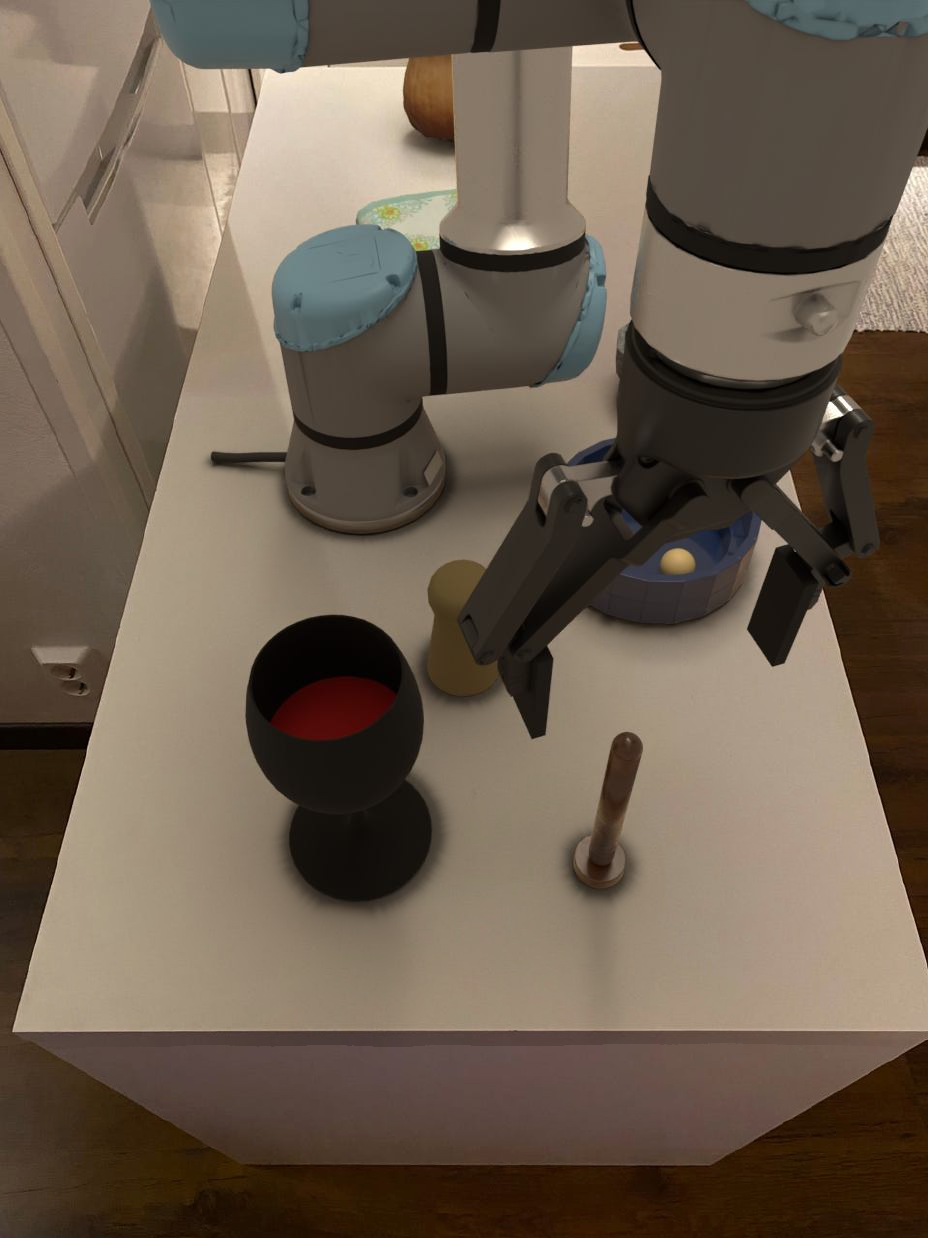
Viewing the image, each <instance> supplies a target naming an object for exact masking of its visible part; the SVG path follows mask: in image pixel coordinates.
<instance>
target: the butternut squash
mask: <svg viewBox="0 0 928 1238" xmlns="http://www.w3.org/2000/svg"><path fill="white" fill-rule="evenodd" d="M402 95H403V96H402V98H403V99H402V100H403V101H402V103H403V110H404V112H405V115H406V116H407V120H408V122H409V123H410V126H411V127H412V128H413V129H414V130H416V131H417V132H418V133H420V134H421V135H422V136H423V137H424V138H428V139H434V140H440V141H442V140H443V141H448V142H450V143H455V133H454V109H453V84H452V59H451V55H440V56H429V57H417V58H408V60H407V64H406V68H405V71H404V76H403V84H402Z"/></svg>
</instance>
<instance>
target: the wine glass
mask: <svg viewBox="0 0 928 1238" xmlns="http://www.w3.org/2000/svg"><path fill="white" fill-rule="evenodd" d="M251 665H252V666H251V668H250V672H249V677H248V682H247V687H246V694H245V713H244V714H245V715H244V717H245V726H246V733H247V738H248V743H249V746H250V748H251V752H252V754H253V757H254V759H255V762H256V764H257V766H259V769H260V770H261V772H262V774H263V775H264V777H265V779H266V780H267V781H268V782H269V783H270V784H271V785H272V786H273V787H274V789H275V790H276V791H277V792H278V793H280V794H281V795H282V796H284V798H286V799H287V800H289V801H290V802H292V803H294V804H296V805H297V807H296V809H295V811H294V813H293V815H292V818H291V822H290V826H289V833H288V845H289V851H290V855H291V858H292V861H293V864H294V866H295V868H296V869H297V871H298V873H299V875H300V876H301V877H302V878H303V880H304V881H305V882H306V883H307V884H308V885H309V886H311V887H312V888H313V889H315V890H316V891H317V892H319V893H321V894H322V895H325V896H327V897H329V898H332V899H334V900H339V901H345V902H367V901H372V900H377V899H380V898H383V897H386V896H388V895H390V894H393V893H394V892H395V891H398V890H399V889H401V888H402V887H403V886H405V885H406V884H407V883H408V882H410V881H411V879H412V878H413V877H414V876H415V875H416V874H417V873H418V872H419V871H420V869H421V867H422V866H423V864H424V863H425V861H426V859H427V856H428V854H429V852H430V849H431V848H430V847H431V844H432V838H433V837H432V836H433V835H432V834H433V827H432V826H433V825H432V818H431V814H430V810H429V807H428V806H427V805H428V804H427V803H426V801H425V799H424V797H423V796H422V795H421V793H420V792H419V791H418V790H417V789H416V787H414V785H412V784H411V783H410V782H409V781H408V780H406V779H407V777H408V776H409V775H410V773H411V772H412V770H413V768H414V766H415V763H416V762H417V759H418V756H419V755H420V750H421V746H422V744H423V739H424V729H425V728H424V727H425V714H424V713H425V712H424V704H423V698H422V694H421V691H420V688H419V684H418V681H417V679H416V675H415V674H414V672H413V670H412V668H411V666H410V664H409V662H408V659H407V658H406V657H405V654H404V653H403V651H402V650H401V648H400V647H399V646H398V644H396V642H395V641H394V639H393V638H392V637H391V635H389V633H387V632H386V631H385V630H384V629H382V628H381V627H379V626H378V625H376V624H374V623H372V622H371V621H368V620H367V619H364V618H360V617H356V616H353V615H348V614H347V615H346V614H322V615H321V614H320V615H316V616H311V617H307V618H304V619H301V620H299V621H296V622H294V623H291V624H289V625H287V626H286V627H284V628H283V629H281V630H279V631H278V632H277V633H275V634H274V635H273V636H272V637H270V639H269V640H268V641H267V642H265V644H264V645H263V646H262V647H261V649H260V650H259V652H258V653H257V655H256V656H255V658H254V661H253V662H252V664H251Z"/></svg>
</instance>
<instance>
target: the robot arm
mask: <svg viewBox="0 0 928 1238" xmlns="http://www.w3.org/2000/svg"><path fill="white" fill-rule="evenodd" d="M149 4H150V5H149V6H150V9H151V10H152V14H153V17H154V20H155V23H156V25H157V28H158V30H159V33H160V35H161V37H162V39H163V40H164V42H165V44H166V46H167V48H168V50H170V52H171V53H172V54H173V55H174V56H175V57H176V58H177V59H178V60H179V61H181V62H182V63H184V64H185V65H187V66H190V67H192V68H194V69H198V70H272V71H274V72H276V73H277V74H279V75H280V74H281V75H283V74H286V73H287V74H288V73H294V72H296V71H298V70H300V69H302V68H313V67H325V66H335V65H344V64H345V65H347V64H357V63H370V62H371V63H372V62H380V61H381V62H382V61H392V60H393V61H394V60H404V59H409V58H417V57H429V56H440V55H451V59H452V84H453V109H454V133H455V142H454V156H455V178H456V179H455V182H456V189H457V201H456V203H455V205H454V207H453V208H452V209H451V210H450V211H449V212H448V213H447V214H446V215H445V216H444V217H443V219H442V220H441V221H440V225H439V240H440V248H439V249H431V250H422V251H415V249H414V247H413V246H412V245H411V243H410V241H409V240H408V239H407V238H406V236H404V235H403V234H402V233H400V232H399V231H396V230H394V229H392V228H386V229H383V230H382V229H381V227H380V226H379V225H374V224H358V225H356V224H350V225H344V226H339V227H335V228H331V229H329V230H326V231H322V232H320V233H318V234H316V235H314V236H311V237H309V238H308V239H306V240H305V241H303V242H301V243H300V244H298V246H296V248H294V250H292V251H290V252H289V253H288V254H287V255H286V256H285V257H284V258H283V259H282V261H280V263H279V265H278V266H277V268H276V271H275V272H274V275H273V279H272V281H271V300H272V308H273V316H274V317H273V332H274V336H275V339H276V340H277V341H278V343H279V346H280V351H281V358H282V362H283V368H284V373H285V379H286V385H287V389H288V396H289V401H290V406H291V411H292V417H293V423H292V427H291V432H290V437H289V442H288V447H287V450H286V451H263V452H262V451H256V452H255V451H253V452H252V451H251V452H223V451H222V452H221V451H214V450H213V451H211V453H210V460H211V461H212V462H216V463H226V464H243V463H244V464H247V463H284V478H285V483H286V489H287V493H288V495H289V498H290V501H291V502H292V504H293V506H294V507H295V508H296V509H297V510H298V512H299V513H300V514H301V515H302V516H304V517H305V518H306V519H308V520H309V521H310V522H312V523H314V524H316V525H318V526H320V527H321V528H325V529H327V530H331V531H335V532H339V533H345V534H356V535H357V534H358V535H362V534H376V533H383V532H387V531H391V530H394V529H398V528H401V527H402V526H405V525H408V524H409V523H412V522H413V521H415V520H417V519H419V518H420V517H421V516H423V515H424V514H425V513H427V512H428V511H429V510H430V509H432V507H433V506H434V505H435V504H436V502H437V501H438V500H439V498H440V496H441V495H442V493H443V490H444V488H445V484H446V476H447V474H446V473H447V472H446V471H447V470H446V456H445V453H444V449H443V446H442V443H441V441H440V438H439V437H438V434H437V433H436V430H435V429H434V426H433V424H432V422H431V420H430V418H429V415H428V414H427V411H426V409H425V408H424V407H425V406H424V403H423V397H424V398H425V397H434V396H442V395H444V396H446V395H456V394H465V393H475V392H484V391H494V390H505V389H515V388H516V389H517V388H524V387H528V388H530V389H534V388H537V389H538V388H540V387H542V386H544V385H547V384H551V383H559V382H564V381H565V382H566V381H567V382H568V381H572V380H573V379H576V378H579V377H580V375H582V374H583V373H584V372H585V370H587V369H588V368H589V367H590V365H591V364H592V363H593V360H594V358H595V357H596V354H597V351H598V349H599V345H600V342H601V340H602V339H601V338H602V335H603V330H604V325H605V318H606V311H607V300H608V291H607V288H606V286H605V285H606V280H607V264H606V258H605V253H604V250H603V247H602V245H601V243H600V242H599V241H598V240H597V239H596V238H595V237H594V236H592V235H589V234H587V233H586V230H587V221H586V219H585V218H586V217H584V215H583V213H581V212H580V211H579V210H578V209H577V208H576V206H575V205H573V204H572V203H571V202H570V200H569V198H568V196H569V195H568V193H569V164H570V135H571V134H570V133H571V109H572V108H571V107H572V105H571V103H572V78H573V77H572V74H573V47H581V46H582V47H583V46H595V45H608V44H610V45H611V44H622V43H638V45H640V47H641V48H642V49H643V50H644V52H645V53H646V54H647V56H648V58H649V59H650V60H651V61H652V63H653V64H654V65H655V67H656V68H657V69H658V70H659V71H660V75H661V77H660V89H659V97H658V104H657V112H656V120H655V128H654V137H653V143H652V144H653V145H652V153H651V161H650V167H649V168H650V169H649V174H648V176H647V183H646V190H645V191H646V192H645V204H644V210H643V216H642V222H641V229H640V236H639V241H638V248H637V254H636V260H635V267H634V272H633V280H632V284H631V292H630V301H629V315H630V318H631V319H630V320H629V322H630V323H629V322H628V323H629V325H628V328H627V333H626V339H625V346H624V353H623V360H622V367H621V374H620V379H619V381H618V387H617V395H616V396H617V398H616V423H617V424H616V428H617V429H616V435H615V437H614V438H615V441H614V443H613V445H612V446H611V448H610V449H609V451H608V452H607V453H606V455H605V456H604V458H603V461H602V462H596V463H590V464H583V465H576V466H567V462H566V461H565V460H564V458H563V456H562V455H561V454H560V453H559V452H549V453H546V454H544V455H543V456H541V457H539V459H538V460H537V461H536V463H535V464H534V465H535V466H534V469H533V473H532V474H533V475H532V478H531V484H530V489H529V493H528V499H527V501H526V503H525V504H524V505H523V507H522V509H521V511H520V512H519V514H518V516H517V517H516V519H515V520H514V522H513V524H512V525H511V527H510V529H509V531H508V532H507V534H506V535H505V537H504V539H503V541H502V542H501V543H500V546H499V547H498V548H497V550H496V552H495V554H494V555H493V557H492V559H491V560H490V562H489V564H488V565H487V567H486V570H485V572H484V574H483V575H482V577H481V579H480V580H479V582H478V584H477V585H476V587H475V589H474V590H473V592H472V594H471V595H470V597H469V599H468V600H467V602H466V604H465V605H464V607H463V609H462V610H461V612H460V614H459V615H458V618H457V621H458V624H459V626H460V628H461V631H462V633H463V635H464V638H465V640H466V642H467V645H468V647H469V649H470V652H471V654H472V656H473V659H474V661H475V663H476V664H477V665H480V666H485V665H489V664H492V663H493V662H495V661H496V660H497V659H498V663H497V670H498V672H499V677H500V679H501V681H502V683H503V686H504V687H505V690H506V692H507V694H508V695H509V696H510V697H511V698H512V699H513V701H514V703H515V705H516V708H517V710H518V712H519V714H520V716H521V719H522V722H523V724H524V725H525V727H526V730H527V732H528V735H529V737H530V739H531V740H535V739H538V738H542V737H545V736H546V735H547V725H548V717H549V707H550V699H551V698H550V697H551V688H552V678H553V667H554V656H553V654H552V652H551V650H550V648H549V646H548V645H549V644H550V643H551V642H552V641H553V640H554V639H555V638H556V637H558V635H559V634H560V633H562V631H564V629H566V628H567V627H568V626H569V625H570V624H571V623H572V622H573V621H574V620H575V619H576V618H577V617H578V616H579V615H580V614H581V613H582V612H583V611H584V610H585V609H586V608H587V607H588V606H590V605H589V604H590V603H591V602H592V601H593V600H594V599H595V598H596V597H597V596H598V595H599V594H600V593H601V592H602V591H603V590H604V589H605V588H606V587H607V586H608V585H609V584H610V583H611V582H612V581H613V580H614V579H615V578H616V577H617V576H618V575H620V574H621V573H622V572H623V571H624V570H625V569H626V568H627V567H628V566H630V565H633V566H636V567H638V566H642V565H643V564H645V563H646V562H647V561H648V560H649V559H650V558H651V557H652V556H653V555H654V554H655V553H656V552H657V551H658V550H659V549H660V548H661V547H662V546H663V545H664V544H665V543H666V542H667V543H670V542H674V541H677V540H681V539H685V538H687V537H689V536H691V535H693V534H696V533H698V532H700V531H705V530H719V529H723V528H726V527H730V526H734V523H735V520H736V519H738V518H740V517H742V516H743V515H745V514H746V513H748V512H749V511H750V510H752V511H753V512H754V513H755V514H756V515H757V516H758V517H759V518H760V519H761V520H762V521H761V522H763V523H764V524H765V525H766V526H767V527H768V528H769V529H770V530H771V531H774V532H775V533H776V534H777V535H778V536H779V537H781V538H782V540H784V542H785V543H786V544H784V545H780V546H777V547H775V549H774V551H773V554H772V556H771V559H770V563H769V566H768V568H767V571H766V574H765V576H764V579H763V582H762V585H761V588H760V590H759V593H758V596H757V599H756V602H755V603H754V604H755V605H754V607H753V610H752V612H751V616H750V619H749V622H748V624H747V627H746V631H747V632H748V634H749V635H750V637H751V638H752V640H753V641H754V643H755V644H756V646H757V647H758V648H759V650H760V651H761V653H762V654H763V657H764V658H765V659H766V661H767V662H768V663H769V666H771V668H774V667H777V666H780V665H785V663H786V662H787V659H788V656H789V654H790V652H791V650H792V648H793V645H794V643H795V640H796V638H797V635H798V633H799V631H800V628H801V626H802V624H803V622H804V619H805V616H806V614H807V612H808V611H810V610H812V609H813V607H814V606H815V605H816V604H817V603H818V601H819V600H820V598H821V594H822V592H823V589H824V588H825V585H827V586H828V587H829V588H830V589H837V588H840V587H842V586H843V585H845V584H846V583H847V582H849V581H850V579H851V578H852V576H853V572H852V570H851V569H850V568H849V566H848V565H847V564H846V563H845V562H844V559H846V558H848V557H850V556H852V555H853V554H854V555H855V556H856V557H857V559H866V558H868V557H870V556H872V555H874V554H875V553H876V552H877V551H878V549H879V548H880V546H881V539H880V533H879V527H878V522H877V516H876V510H875V505H874V499H873V493H872V488H871V482H870V477H869V471H868V465H867V459H866V458H867V455H868V451H869V447H870V444H871V442H872V438H873V434H874V432H875V429H876V428H875V426H876V423H875V422H874V420H873V419H872V418H871V417H870V416H869V415H868V414H867V413H866V412H865V410H864V409H863V408H861V407H860V405H859V404H857V402H856V401H855V400H854V399H853V398H852V397H851V396H850V395H849V394H848V393H847V392H846V391H845V390H844V389H843V387H842V386H841V385H839V384H837V380H838V377H839V375H840V373H841V369H842V365H843V353H844V351H845V349H846V347H847V346H848V343H849V341H850V340H851V338H852V336H853V333H854V330H855V327H856V325H857V322H858V319H859V318H860V317H859V316H860V313H861V310H862V308H863V305H864V302H865V299H866V297H867V294H868V291H869V288H870V286H871V283H872V281H873V277H874V275H875V271H876V268H877V266H878V263H879V260H880V257H881V255H882V253H883V249H884V246H885V243H886V241H887V238H888V234H889V232H890V227H891V224H892V221H893V218H894V216H895V215H896V213H897V211H898V208H899V205H900V203H901V201H902V198H903V195H904V192H905V189H906V188H907V187H906V186H907V185H908V181H909V179H910V176H911V175H912V174H911V173H912V171H913V168H914V166H915V163H916V160H917V158H918V155H919V152H920V150H921V147H922V144H923V142H924V139H925V136H926V133H927V130H928V0H149ZM809 449H810V451H811V455H812V456H811V457H812V459H813V464H814V468H815V472H816V476H817V480H818V484H819V487H820V491H821V495H822V499H823V504H824V509H825V511H826V516H827V519H828V522H829V523H827V524H824V525H822V526H821V527H818V528H817V527H816V525H815V524H814V523H813V522H812V520H810V519H809V518H808V516H806V515H805V514H804V512H803V511H802V510H801V509H800V508H799V507H798V506H797V504H795V502H793V500H792V499H791V498H790V497H789V496H788V495H787V494H786V493H785V492H784V491H783V490H782V489H781V488H780V486H778V483H779V482H780V480H782V479H783V478H784V476H785V475H786V474H787V473H788V472H789V471H790V470H791V469H792V468H794V466H795V465H796V464H797V463H798V462H799V461H800V460H801V459H802V458H803V456H804V455H805V454H806V453H807V451H808V450H809ZM622 509H624V510H625V511H626V512H627V513H628V514H629V515H630V516H631V517H632V518H633V519H634V520H635V521H636V522H637V523H638V524H639V525H640V526H641V528H640V529H639V530H638V531H637V532H636V533H635V534H633V532H632V531H631V529H630V528H629V526H628V524H627V523H626V521H625V520H624V518H623V516H622Z"/></svg>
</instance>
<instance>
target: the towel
mask: <svg viewBox="0 0 928 1238" xmlns="http://www.w3.org/2000/svg"><path fill="white" fill-rule="evenodd" d="M456 201H457V188H454V189H453V188H452V189H442V190H433V191H432V190H431V191H425V192H419V193H409V194H403V195H402V194H401V195H398V196H392V197H387V198H383V199H378V200H374V201H371V202H369V203H368V204H366V205H365V206H364V207H363V208H361V209H359V210H358V211H357V213H356V217H355V225H358V224H374V225H379V226H380V227H381V229H382V230H383V229H386V228H392V229H394V230H396V231H399V232H400V233H402V234H403V235H404V236H406V238H407V239H408V240H409V241H410V243H411V245H412V246H413V247H414V249H415V251H422V250H431V249H439V248H440V240H439V225H440V221H441V220H442V219H443V217H444V216H445V215H446V214H447V213H448V212H449V211H450V210H451V209H452V208H453V207H454V205H455V203H456Z"/></svg>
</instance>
